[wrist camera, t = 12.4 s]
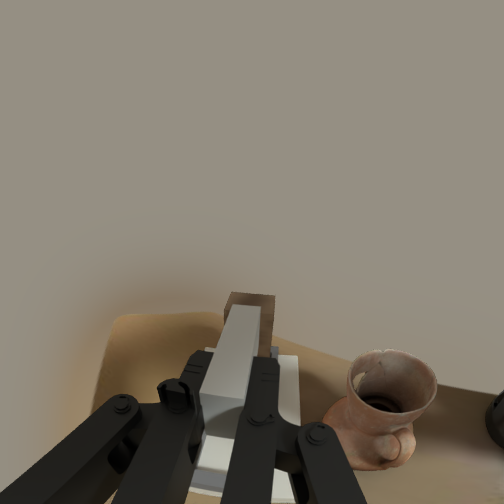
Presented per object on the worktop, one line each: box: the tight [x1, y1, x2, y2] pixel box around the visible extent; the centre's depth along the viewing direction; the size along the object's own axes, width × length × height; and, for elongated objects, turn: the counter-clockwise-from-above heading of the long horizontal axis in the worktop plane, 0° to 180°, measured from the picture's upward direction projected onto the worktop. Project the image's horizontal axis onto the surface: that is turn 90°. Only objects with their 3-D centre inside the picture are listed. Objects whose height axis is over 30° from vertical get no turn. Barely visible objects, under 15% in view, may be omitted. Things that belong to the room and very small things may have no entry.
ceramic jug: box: [322, 349, 437, 471], centre depth 28 cm, size 18×14×14 cm
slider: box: [224, 292, 275, 358], centre depth 42 cm, size 7×6×14 cm
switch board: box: [189, 346, 300, 503], centre depth 36 cm, size 18×30×4 cm, turn 174°
